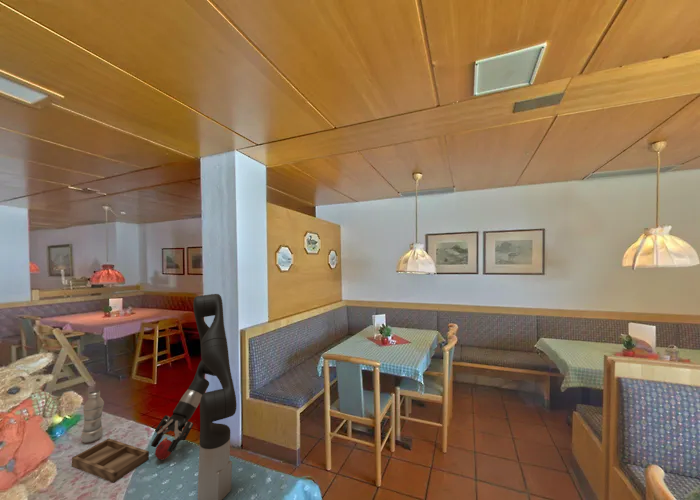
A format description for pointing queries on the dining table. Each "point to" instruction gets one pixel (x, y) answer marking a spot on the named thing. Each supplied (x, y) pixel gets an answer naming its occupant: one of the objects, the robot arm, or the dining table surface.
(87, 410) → the plastic bottle
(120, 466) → the walnut tray
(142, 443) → the dining table surface
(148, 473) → the dining table surface
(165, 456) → the pomegranate
